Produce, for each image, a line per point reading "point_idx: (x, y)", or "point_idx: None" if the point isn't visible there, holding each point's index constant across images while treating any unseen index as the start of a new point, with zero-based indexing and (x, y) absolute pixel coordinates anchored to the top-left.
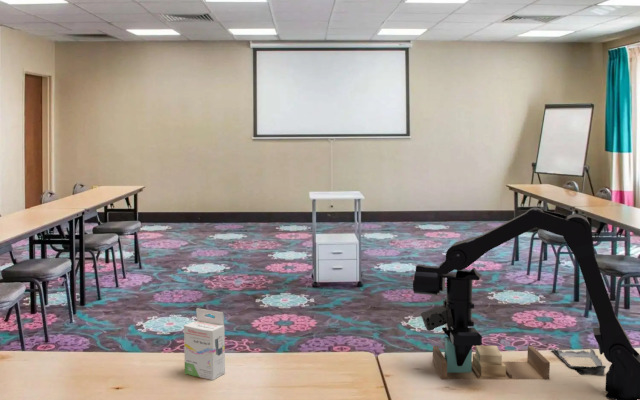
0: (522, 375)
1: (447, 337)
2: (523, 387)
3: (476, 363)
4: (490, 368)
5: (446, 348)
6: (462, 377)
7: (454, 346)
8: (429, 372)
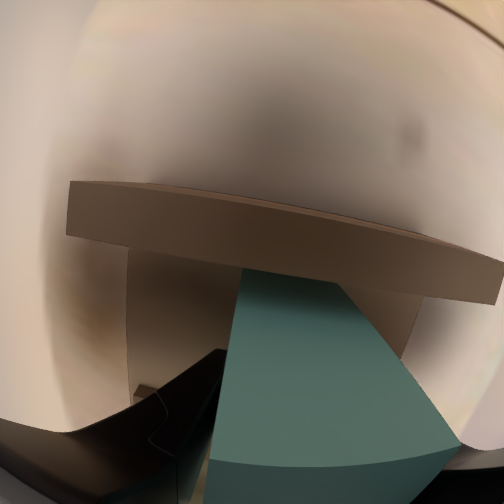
0: None
1: (399, 478)
2: None
3: None
4: None
5: (294, 354)
6: (151, 322)
7: (145, 442)
8: (348, 179)
